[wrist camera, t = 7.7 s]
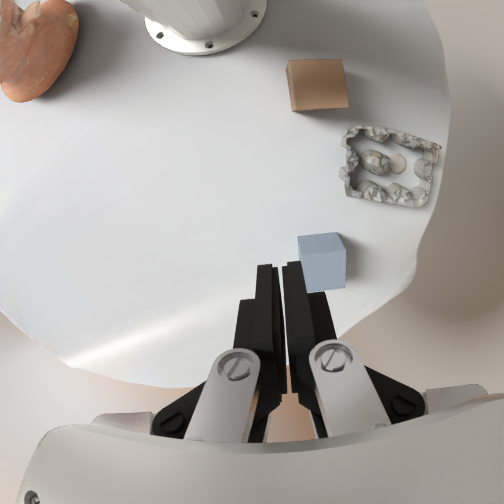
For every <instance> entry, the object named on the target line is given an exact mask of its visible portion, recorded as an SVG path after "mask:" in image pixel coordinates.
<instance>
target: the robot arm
mask: <svg viewBox="0 0 504 504" xmlns="http://www.w3.org/2000/svg"><path fill="white" fill-rule="evenodd" d="M120 1H122V2H123V3H125V4H127V5H128V6H130V7H131V8H133V9H135V10H136V11H138V12H139V13H141V14H142V15H144V16H145V18H144V21H145V25H146V29H147V31H148V33H149V35H150V36H151V37H152V39H153V40H154V41H155V42H156V43H158V44H159V45H161V46H162V47H164V48H166V49H168V50H169V51H172V52H175V53H179V54H183V55H207V54H212V53H217V52H220V51H223V50H226V49H228V48H230V47H232V46H234V45H236V44H238V43H240V42H241V41H243V40H244V39H246V38H247V37H248V36H249V35H250V34H251V33H252V32H253V31H255V30H256V28H257V27H258V25H259V24H260V23H261V21H262V19H263V17H264V14H265V12H266V6H267V0H120ZM253 15H257V16H258V17H253ZM162 36H164V37H163V38H161V37H162ZM210 45H213V47H212V48H209V46H210ZM282 275H283V288H284V303H285V318H286V334H287V346H288V356H289V366H290V376H291V387H292V393H298V397H299V403H300V404H301V405H303V406H304V407H306V408H307V409H309V414H310V417H311V421H312V425H313V429H314V433H315V436H316V439H314V440H304V441H293V442H278V443H266V441H267V436H268V431H269V426H270V422H271V414H272V413H271V412H272V411H273V410H274V409H275V408H276V407H278V406H279V405H280V402H282V394H287V371H286V348H285V328H284V317H283V308H282V299H281V291H280V283H279V274H278V267H272V264H266V265H258V266H257V280H256V294H255V299H246V300H241V301H240V304H239V311H238V318H237V325H236V332H235V338H234V345H233V349H231V350H228V351H226V352H224V353H222V354H221V355H219V356H218V357H217V358H216V360H215V361H214V363H213V365H212V368H211V370H210V373H209V375H208V378H207V380H206V381H205V382H203V383H202V384H200V385H199V386H197V387H196V388H194V389H193V390H191V391H190V392H188V393H187V394H185V395H184V396H182V397H181V398H179V399H177V400H176V401H174V402H173V403H171V404H170V405H168V406H166V407H165V408H163V409H162V410H161V411H159V412H158V413H157V414H152V413H151V412H139V413H117V414H102V415H99V416H98V417H96V418H95V419H94V420H93V422H92V424H91V425H90V424H75V425H65V426H61V427H57V428H54V429H52V430H50V431H49V432H47V433H46V434H45V435H44V437H43V438H42V439H41V441H40V442H39V444H38V446H37V447H36V449H35V451H34V453H33V455H32V458H31V460H30V462H29V464H28V467H27V469H26V472H25V475H24V477H23V480H22V483H21V487H20V490H19V493H18V497H17V501H16V504H504V393H495V394H489V395H488V393H487V391H486V390H485V389H484V388H483V387H482V386H480V385H478V384H469V385H462V386H454V387H446V388H437V389H427V390H426V391H425V392H423V393H419V392H417V391H416V390H414V389H413V388H411V387H408V386H406V385H404V384H402V383H400V382H397V381H396V380H393V379H391V378H389V377H387V376H385V375H383V374H381V373H379V372H377V371H375V370H373V369H371V368H368V367H366V366H365V365H363V363H362V361H361V359H360V357H359V355H358V353H357V351H356V350H355V348H354V347H353V346H352V345H351V344H349V343H348V342H345V341H342V340H337V337H336V333H335V329H334V325H333V321H332V317H331V313H330V309H329V306H328V302H327V298H326V294H325V292H324V291H323V292H314V293H307V289H306V284H305V279H304V274H303V269H302V264H301V261H293V262H287V266H282Z"/></svg>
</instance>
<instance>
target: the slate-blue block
mask: <svg viewBox="0 0 504 504" xmlns="http://www.w3.org/2000/svg"><path fill="white" fill-rule="evenodd" d="M297 239H298V250H299V261H301V264H302V269H303V274H304V279H305V284H306V289H307V292H315V291H323V290H332V289H339V288H345V281H346V249H345V247H344V245H343V243H342V241H341V239H340V238H339V236H338V234H337V232H334V233H324V234H315V235H306V236H297Z"/></svg>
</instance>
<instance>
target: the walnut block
mask: <svg viewBox="0 0 504 504" xmlns="http://www.w3.org/2000/svg"><path fill="white" fill-rule="evenodd" d="M286 73H287V79H288V85H289V92H290V99H291V106H292V111H305V110H323V109H341V108H349V104H348V96H347V89H346V82H345V76H344V69H343V64H342V59H306V60H289V62H288V65H287V68H286Z"/></svg>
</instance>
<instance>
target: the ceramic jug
mask: <svg viewBox="0 0 504 504" xmlns="http://www.w3.org/2000/svg"><path fill="white" fill-rule="evenodd" d="M39 4H40V1H36V2H34V3H32V4H30V6H28V7H27V9H26V10H25V11H24V10H22V9H21V8H20V7H18V6H17V5H16V3H15V2H14V1H12V0H0V84H1V88H2V90H3V92H4V94H5V95H6V96H7V97H8V98H9V99H10V100H12V101H15V102H27V101H30V100H33V99H35V98H37V97H38V96H40V95H42V94H43V93H44V92H45V91H47V90H48V89H49V88H50V87H51V86H52V85H53V83H54V82H55V81H56V80H57V78H58V77H59V76H60V75H61V73H62V72H63V70H64V69H65V67H66V65H67V63H68V61H69V59H70V57H71V55H72V53H73V50H74V47H75V44H76V40H77V36H78V30H79V19H78V15H77V12H76V10H75V9H74V7H73V6H72V5H71V4H70V3H69V2H67V1H65V0H49V1H46V2H44V3H42V4H40V5H39Z"/></svg>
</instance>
